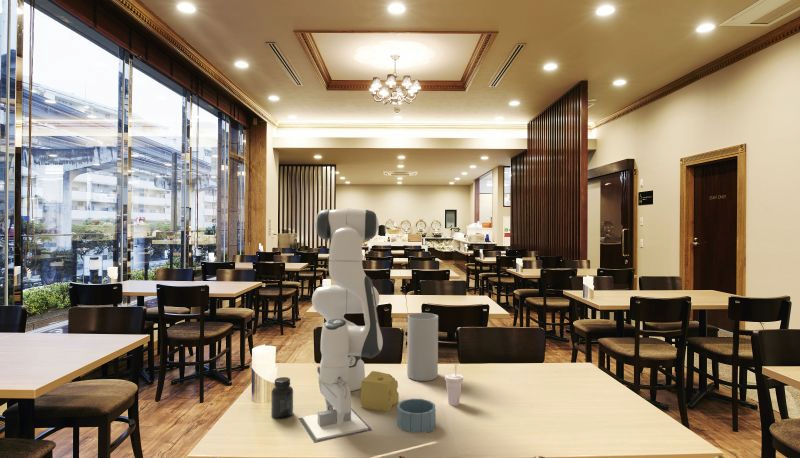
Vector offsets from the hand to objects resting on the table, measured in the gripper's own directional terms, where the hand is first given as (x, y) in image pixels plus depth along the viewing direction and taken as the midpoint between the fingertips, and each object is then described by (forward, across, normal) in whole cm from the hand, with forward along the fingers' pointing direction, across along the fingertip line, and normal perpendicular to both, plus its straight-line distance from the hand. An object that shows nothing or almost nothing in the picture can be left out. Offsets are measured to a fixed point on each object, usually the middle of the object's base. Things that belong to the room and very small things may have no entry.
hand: (334, 417), depth 141 cm
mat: (+3, 0, 0) cm, 3 cm away
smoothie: (+3, -2, -43) cm, 43 cm away
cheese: (+3, +8, -19) cm, 21 cm away
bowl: (+3, -11, -23) cm, 26 cm away
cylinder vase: (+3, +27, -47) cm, 54 cm away
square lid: (+2, 0, 0) cm, 2 cm away
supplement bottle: (+3, +14, +13) cm, 19 cm away
